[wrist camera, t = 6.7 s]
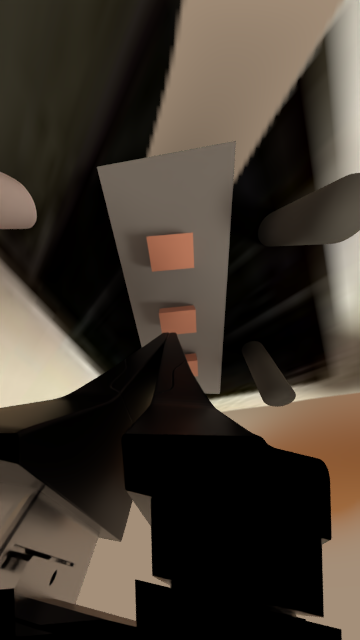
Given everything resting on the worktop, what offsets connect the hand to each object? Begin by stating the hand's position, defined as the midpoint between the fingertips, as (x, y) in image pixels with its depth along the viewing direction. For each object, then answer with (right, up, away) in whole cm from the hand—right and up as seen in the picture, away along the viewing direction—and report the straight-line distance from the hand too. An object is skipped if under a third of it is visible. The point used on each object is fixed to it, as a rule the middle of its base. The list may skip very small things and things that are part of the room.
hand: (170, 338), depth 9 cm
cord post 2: (+8, +8, +2) cm, 12 cm away
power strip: (+1, +3, +6) cm, 6 cm away
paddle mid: (0, +2, +3) cm, 4 cm away
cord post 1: (+9, -2, +7) cm, 12 cm away
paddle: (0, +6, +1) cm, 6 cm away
